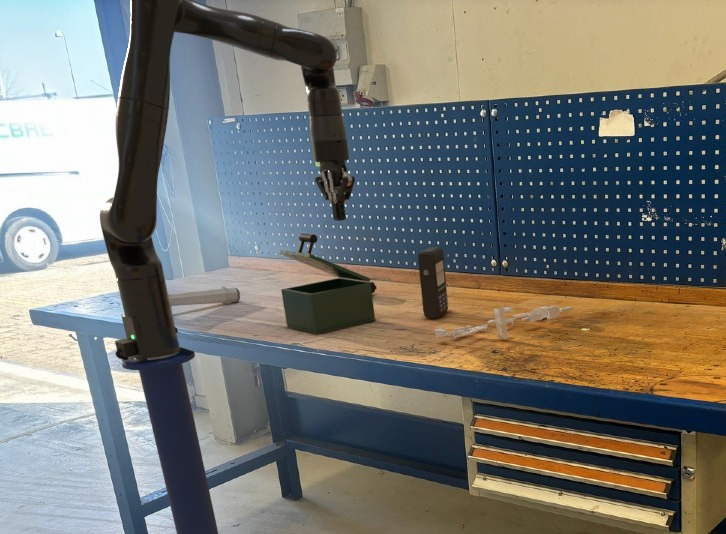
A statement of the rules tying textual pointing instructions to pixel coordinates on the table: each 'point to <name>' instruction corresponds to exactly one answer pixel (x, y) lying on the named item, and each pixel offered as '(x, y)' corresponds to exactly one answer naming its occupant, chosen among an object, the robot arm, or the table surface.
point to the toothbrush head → (205, 297)
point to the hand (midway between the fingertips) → (340, 220)
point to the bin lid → (320, 260)
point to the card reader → (433, 282)
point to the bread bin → (328, 305)
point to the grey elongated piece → (505, 321)
